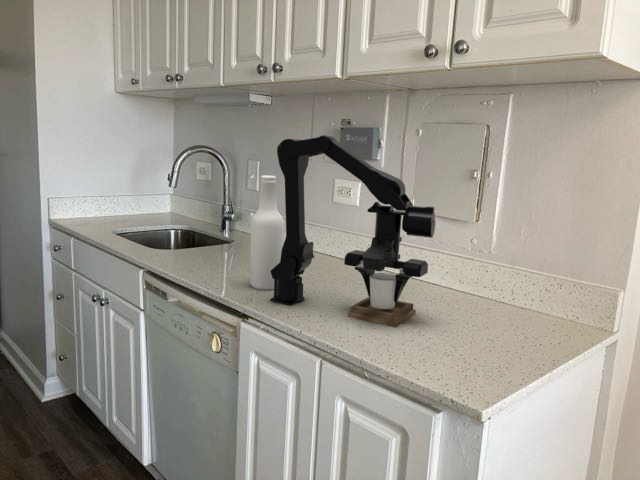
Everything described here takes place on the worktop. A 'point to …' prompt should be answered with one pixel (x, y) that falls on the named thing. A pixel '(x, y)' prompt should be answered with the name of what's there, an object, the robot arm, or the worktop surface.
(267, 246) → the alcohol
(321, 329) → the worktop surface
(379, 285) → the white cup
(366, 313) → the walnut holder
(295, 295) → the robot arm
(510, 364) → the worktop surface
